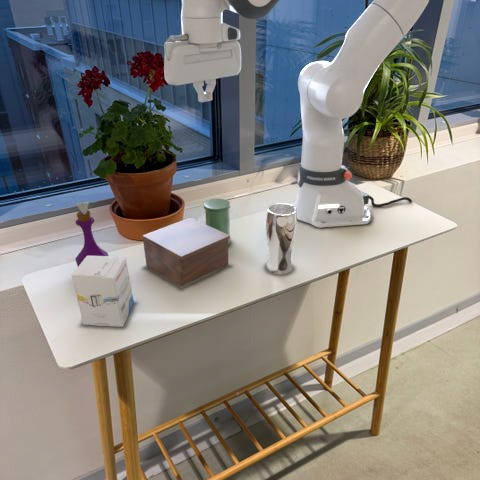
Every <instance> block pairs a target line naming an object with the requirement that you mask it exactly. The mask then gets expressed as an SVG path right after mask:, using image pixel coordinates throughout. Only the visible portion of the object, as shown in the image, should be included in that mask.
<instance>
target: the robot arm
mask: <svg viewBox="0 0 480 480" xmlns="http://www.w3.org/2000/svg"><path fill="white" fill-rule="evenodd" d="M279 1H280V0H181V12H180V21H181V22H180V23H181V34H178V35H170V36H168V38H167V39H166V41H165V42H164V44H163V48H164V49H163V50H164V59H163V60H164V61H163V64H164V65H163V72H164V80H165V81H166V83H167V84H168V85H172V86H182V85H188V84H192V86H193V88H194V90H195V91H196V93H197V101H198V102H199V103H205V102H210V101H211V102H212V101H213V92H214V90H215V87H216V85H217V79H222V78H228V77H234V76H238V75H239V74H240V73H241V69H242V49H241V44H240V42H239V40H240V39H241V30H240V29H239V28H237V27H234V26H232V25H229V24H227V23H226V22H223V12H224V11H226V10H227V11H228V10H229V11H230V12H233V13H235V14H238V15H239V16H241V17H243V18H245V19H248V20H258V19H261V18H264V17H265V16H267V15H268V14H270V13H271V12H272V11H273V9H274V8H275V7H276V6H277V4H278V3H279ZM429 2H430V0H373V1H371V3H370V4H369V5H368V7H367V8H365V10H364V11H363V12H362V14H361V15H359V17H358V19H356V21H355V22H354V23H353V24H352V25H351V27H350V28H349V29H348V30H347V32H346V33H345V36H344V41H343V44H342V45H341V47H340V49H339V51H338V52H337V54H336V56H335V57H334V59H333V60H332V61H331V62H329V61H327V60H318V61H314V62H310V63H309V64H307V65H305V66H304V67H303V68H302V70H301V71H300V73H299V76H298V77H297V78H298V79H297V88H298V92H299V99H300V102H299V103H300V115H301V127H302V141H301V142H302V144H301V157H300V158H301V160H300V164H299V166H298V171H297V185H298V186H297V193H296V198H295V202H294V205H293V206H294V207H296V208H297V221H301V222H304V223H307V224H310V225H312V226H313V227H316V228H334V227H345V226H358V225H359V226H360V225H368V224H369V223H370V222H371V219H372V214H371V210H369V208H368V206H366V205H368V204H369V201H370V203H371V206H373V207H375V208H381V207H386V206H389V205H392V204H394V203H398V202H401V201H408V202H409V203H413V200H412V198H410V197H408V196H404V197H400V198H397V199H392V200H390V201H388V202H383V203H375V199H374V198H373V196H371V195H370V194H368V193H366V192H364V191H362V190H361V189H359V188H358V187H356V186H355V185H354V184H353V183H352V182H351V181H350V180H351V179H352V178H353V174H352V172H351V171H350V170H349V169H348V168H347V167H346V166H345V164H343V157H344V147H345V140H346V135H345V132H344V128H343V121H342V120H343V119H344V120H345V119H348V118H350V117H352V116H353V115H354V114H356V113H357V111H358V110H359V109H360V107H361V105H362V104H363V101H364V94H365V91H366V88H367V87H368V85H369V83H370V81H371V79H372V78H373V76H374V75H375V73H376V72H377V70H378V68H379V67H380V66H381V64H382V63H383V62H384V61H385V59H386V58H387V57H388V56H389V55H390V53H392V51H394V49H395V48H396V47H397V46H398V44H399V43H400V42H401V41H402V40H403V39H404V38H405V37H406V35H408V33H409V32H410V30H411V29H412V27H413V26H414V25H415V24H416V23H417V21H418V20H419V18H420V17H421V16H422V14H423V12H424V11H425V9H426V7H427V6H428V5H429ZM205 84H206V87H205V90H204V88H203V87H204V86H205Z"/></svg>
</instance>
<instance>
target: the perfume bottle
mask: <svg viewBox="0 0 480 480" xmlns="http://www.w3.org/2000/svg"><path fill="white" fill-rule="evenodd" d="M89 203H90V202H89V201H81V202H77V203H75V206H76V207H77V208H78V209H79V211H78V212H77V213H76V217H77V219H76V220H75V225H76V226H78V227H80V229H81V231H82V233H83V239H84V240H83V247H82V249H81V250H80V252H79V253H78V254H77V255H76V257H75V258H74V259H75V263H76V266H77V267H78V266H79V265H80V264H81V263H82V261H83V260H84V259H85V258H86V256H88V255H89V256H110V255H109V254H108V252H107V251H106V250H104V249H103V248H101V247H100V246H99V245H98V244H97V242H96V239H95V237H94V234H93V231H92V225H93V224H94V223H95V218H94V217H92V216H91V211H90V209H89V210H88V208H89Z"/></svg>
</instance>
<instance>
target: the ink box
mask: <svg viewBox="0 0 480 480" xmlns="http://www.w3.org/2000/svg"><path fill="white" fill-rule="evenodd" d="M71 279H72V282H73V287H74V291H75V295H76V299H77V304H78V307H79V308H78V309H79V312H80V316H81V317H80V318H81V319H82V324H83V326H97V327H117V328H122V327H124V326H125V323H126V320H127V319H128V318H129V317H128V316H129V315H130V310H131V307H132V306H133V304H134V296H133V291H132V285H131V280H130V274H129V268H128V262H127V257H126V256H113V255H109V256H89V255H88V256H86V258H85V259H84V260H83V261H82V263H81V264H80V265H79V266H77V267H76V269H75V270H74V271H73V272H72V274H71Z"/></svg>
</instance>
